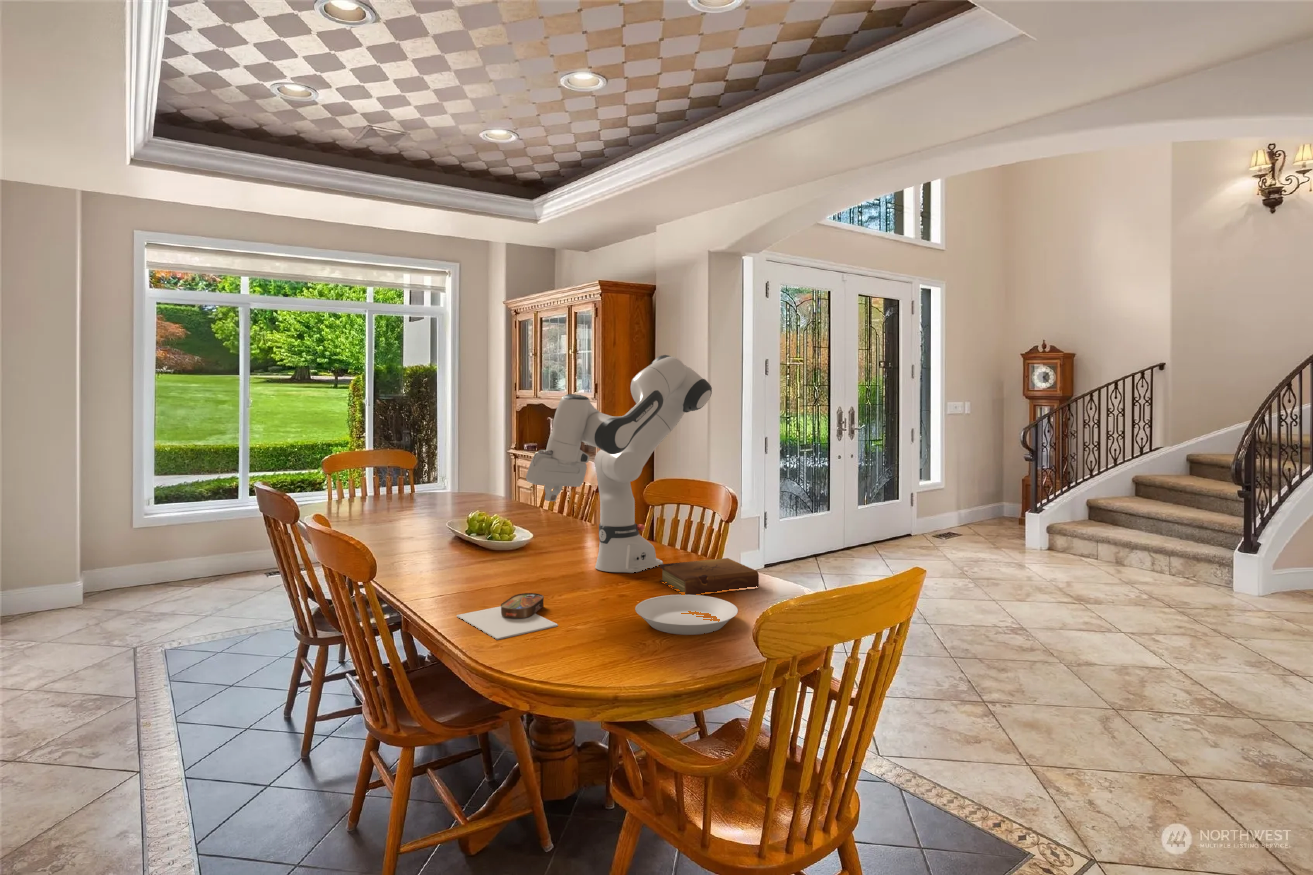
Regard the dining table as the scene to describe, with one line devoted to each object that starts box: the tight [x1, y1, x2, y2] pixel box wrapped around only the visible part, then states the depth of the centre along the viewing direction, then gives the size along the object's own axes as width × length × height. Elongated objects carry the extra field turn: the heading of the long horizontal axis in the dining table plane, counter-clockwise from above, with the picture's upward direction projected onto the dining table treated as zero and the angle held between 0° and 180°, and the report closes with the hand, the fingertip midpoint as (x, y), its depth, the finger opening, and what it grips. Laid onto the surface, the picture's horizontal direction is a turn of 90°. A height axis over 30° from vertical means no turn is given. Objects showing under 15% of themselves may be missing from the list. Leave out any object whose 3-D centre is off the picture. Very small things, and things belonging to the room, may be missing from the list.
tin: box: [500, 592, 545, 618], centre depth 183 cm, size 15×3×8 cm
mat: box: [455, 605, 559, 641], centre depth 176 cm, size 16×22×1 cm
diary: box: [659, 557, 760, 595], centre depth 210 cm, size 23×19×6 cm
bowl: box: [634, 594, 739, 636], centre depth 175 cm, size 25×25×4 cm
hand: (549, 500), depth 197 cm, fingers closed
